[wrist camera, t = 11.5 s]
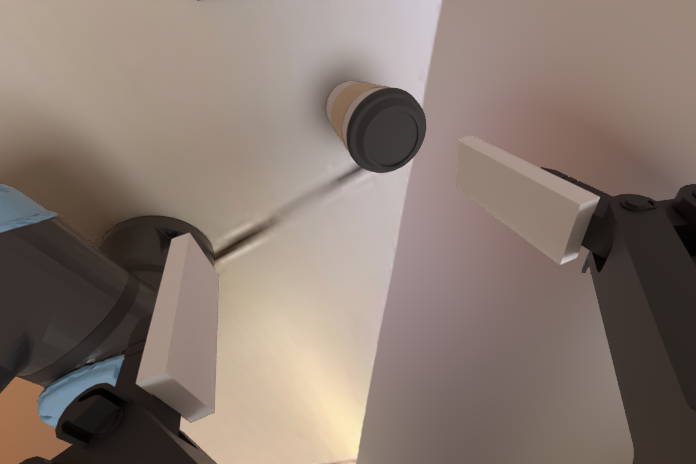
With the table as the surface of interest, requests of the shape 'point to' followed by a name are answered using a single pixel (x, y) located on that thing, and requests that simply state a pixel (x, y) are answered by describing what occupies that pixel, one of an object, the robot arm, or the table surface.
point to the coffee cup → (376, 124)
